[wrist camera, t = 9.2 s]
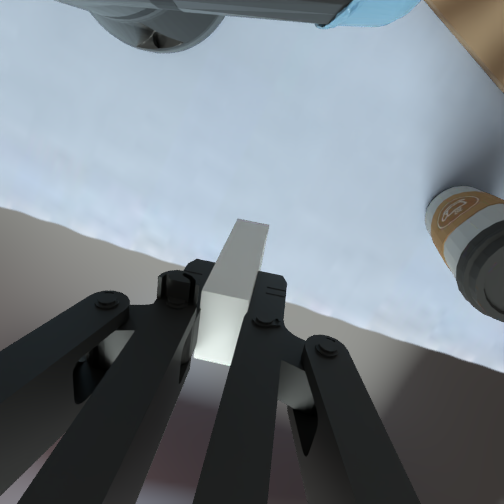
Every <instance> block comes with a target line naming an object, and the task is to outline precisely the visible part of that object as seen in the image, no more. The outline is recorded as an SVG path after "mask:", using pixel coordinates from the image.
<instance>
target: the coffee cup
mask: <svg viewBox="0 0 504 504" xmlns="http://www.w3.org/2000/svg"><path fill="white" fill-rule="evenodd" d="M425 225H426V228H427V231H428V232H429V234H430V236H431V237H432V240H433V243H434V244H435V246H436V248H437V250H438V251H439V253H440V255H441V257H442V258H443V260H444V262H445V263H446V265H447V266H448V268H449V269H450V271H451V272H452V273H453V275H454V277H455V278H456V281H457V284H458V288H459V291H460V292H461V293H462V295H463V296H464V298H465V299H466V300H467V301H468V302H470V303H471V305H472V306H473V307H475V308H476V309H477V310H479V311H480V312H481V313H483V314H485V315H487V316H490V317H492V318H494V319H496V320H499V321H501V322H504V200H503V199H500V198H498V197H496V196H493V195H491V194H488V193H486V192H483V191H480V190H478V189H476V188H473V187H469V186H458V187H453V188H450V189H447V190H445V191H443V192H442V193H440V194H439V195H437V196H436V197H435V198H434V199H433V200H432V201H431V203H430V205H429V206H428V208H427V211H426V214H425Z"/></svg>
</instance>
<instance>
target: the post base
mask: <svg viewBox="0 0 504 504" xmlns="http://www.w3.org/2000/svg"><path fill="white" fill-rule="evenodd" d="M424 1H425V2H426V3H427V4H428V6H429V7H430V8H431V9H432V10H433V11H434V13H435V14H436V15H437V16H438V17H439V18H440V20H441V21H442V22H443V23H444V24H445V25H446V27H447V28H448V29H449V30H450V31H451V32H452V34H453V35H454V36H455V37H456V38H457V39H458V41H459V42H460V43H461V44H462V45H463V46H464V48H465V49H466V50H467V51H468V52H469V53H470V55H471V56H472V57H473V58H474V59H475V61H476V62H477V63H478V64H479V65H480V66H481V68H482V69H483V70H484V71H485V72H486V73H487V75H488V76H489V77H490V78H491V79H492V80H493V82H494V83H495V84H496V85H497V86H498V87H499V89H500V90H501V91H502V92H503V93H504V0H424Z"/></svg>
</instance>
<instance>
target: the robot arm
mask: <svg viewBox="0 0 504 504" xmlns="http://www.w3.org/2000/svg"><path fill="white" fill-rule="evenodd" d="M55 1H58V2H61V3H64V4H67V5H71V6H74V7H77V8H80V9H83V10H86V11H89V12H90V13H91V14H92V16H93V17H94V18H95V19H96V20H97V21H98V23H99V24H100V25H101V26H102V27H103V28H104V29H105V30H107V31H108V32H109V33H110V34H112V35H113V36H114V37H116V38H117V39H119V40H120V41H122V42H124V43H126V44H128V45H130V46H132V47H135V48H137V49H141V50H145V51H150V52H155V53H175V52H180V51H184V50H186V49H189V48H191V47H193V46H195V45H197V44H199V43H200V42H202V41H203V40H204V39H206V38H207V37H208V36H209V35H210V34H211V33H212V32H213V31H214V30H215V29H216V28H217V27H218V25H219V24H220V23H221V21H222V20H223V18H224V17H225V16H236V17H247V18H258V19H270V20H281V21H293V22H304V23H315V26H316V27H317V28H320V29H328V28H334V27H336V26H361V27H379V26H384V25H387V24H389V23H391V22H393V21H395V20H396V19H399V18H401V17H403V16H405V15H406V14H407V13H409V12H410V11H411V10H412V9H413V8H414V7H415V6H416V5H417V4H418V3H419V2H420V1H421V0H55ZM268 229H269V225H267V224H262V223H257V222H252V221H247V220H242V219H237V221H236V223H235V225H234V227H233V229H232V231H231V233H230V235H229V237H228V239H227V241H226V243H225V245H224V247H223V249H222V251H221V253H220V255H219V257H218V259H217V261H216V263H214V262H209V261H205V260H200V259H196V260H194V261H192V262H190V263H188V265H187V266H186V268H185V269H184V271H180V270H174V271H168V272H164V273H162V274H161V275H159V276H158V288H157V299H156V301H155V302H154V304H150V305H130V300H129V299H128V297H127V296H126V295H124V294H123V293H120V292H116V291H101V292H97V293H94V294H92V295H90V296H88V297H87V298H85V299H84V300H82V301H80V302H79V303H77V304H75V305H74V306H72V307H71V308H69V309H67V310H66V311H64V312H62V313H61V314H59V315H58V316H56V317H54V318H53V319H51V320H50V321H48V322H47V323H45V324H43V325H42V326H40V327H39V328H37V329H35V330H34V331H32V332H31V333H29V334H27V335H26V336H24V337H22V338H21V339H19V340H18V341H16V342H14V343H13V344H11V345H10V346H8V347H7V348H5V349H3V350H2V351H0V496H1V495H2V494H3V493H4V492H5V491H6V490H7V489H8V488H9V487H10V486H11V485H12V484H13V483H14V482H15V481H16V480H17V479H18V478H19V477H20V476H21V475H22V474H23V473H24V472H25V471H26V470H27V469H28V468H29V467H30V466H31V465H32V464H33V463H34V462H35V461H36V460H37V459H38V458H40V457H41V455H43V454H44V453H45V452H46V451H47V450H48V449H49V448H50V447H51V446H52V445H53V444H54V443H55V442H56V441H57V440H58V439H59V438H60V437H61V436H62V435H63V434H64V433H65V432H66V433H65V434H64V435H63V437H62V438H61V440H60V441H59V443H58V444H57V446H56V447H55V449H54V450H53V452H52V453H51V455H50V456H49V458H48V459H47V460H46V462H45V463H44V465H43V466H42V468H41V469H40V471H39V472H38V474H37V475H36V477H35V478H34V479H33V481H32V483H31V484H30V485H29V487H28V488H27V490H26V491H25V493H24V494H23V496H22V497H21V499H20V500H19V501H18V503H17V504H135V503H136V501H137V498H138V495H139V493H140V491H141V488H142V486H143V483H144V481H145V478H146V476H147V473H148V471H149V469H150V466H151V463H152V461H153V459H154V456H155V454H156V451H157V449H158V446H159V444H160V441H161V439H162V436H163V434H164V431H165V429H166V426H167V423H168V421H169V419H170V416H171V414H172V411H173V409H174V407H175V404H176V401H177V399H178V396H179V394H180V391H181V389H182V387H183V384H184V382H185V379H186V377H187V374H188V372H189V369H190V362H191V356H192V354H193V351H194V349H195V352H194V358H197V359H201V360H206V361H210V362H215V363H219V364H224V365H228V366H230V369H229V373H228V376H227V380H226V384H225V387H224V391H223V394H222V398H221V402H220V406H219V409H218V413H217V416H216V420H215V424H214V427H213V431H212V435H211V438H210V442H209V446H208V449H207V453H206V457H205V460H204V464H203V467H202V471H201V475H200V478H199V482H198V486H197V489H196V493H195V497H194V500H193V504H267V500H268V489H269V478H270V469H271V459H272V448H273V439H274V428H275V419H276V408H277V400H279V401H281V402H283V403H285V404H286V405H287V409H288V410H287V411H288V415H289V420H290V425H291V429H292V434H293V439H294V443H295V447H296V452H297V457H298V461H299V466H300V471H301V475H302V480H303V484H304V488H305V493H306V498H307V502H308V504H421V503H420V501H419V499H418V497H417V495H416V493H415V491H414V489H413V486H412V484H411V482H410V480H409V478H408V476H407V474H406V472H405V470H404V468H403V466H402V463H401V461H400V459H399V457H398V455H397V453H396V451H395V449H394V447H393V444H392V442H391V440H390V438H389V436H388V434H387V432H386V430H385V428H384V425H383V424H382V421H381V419H380V417H379V415H378V413H377V411H376V409H375V407H374V404H373V402H372V400H371V398H370V396H369V394H368V392H367V390H366V388H365V386H364V383H363V381H362V379H361V377H360V375H359V373H358V371H357V369H356V367H355V364H354V362H353V360H352V358H351V356H350V354H349V352H348V350H347V349H346V347H345V346H344V345H343V344H342V343H341V342H339V341H338V340H336V339H334V338H332V337H329V336H325V335H313V336H311V337H309V338H308V339H307V340H306V341H305V340H303V339H300V338H298V337H296V336H295V335H293V334H292V333H291V332H289V331H288V330H287V329H286V327H285V325H284V321H283V318H284V308H285V297H286V288H287V282H286V281H285V279H284V277H283V276H281V275H276V274H271V273H267V272H262V271H260V270H261V265H262V260H263V254H264V249H265V244H266V239H267V234H268Z"/></svg>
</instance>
